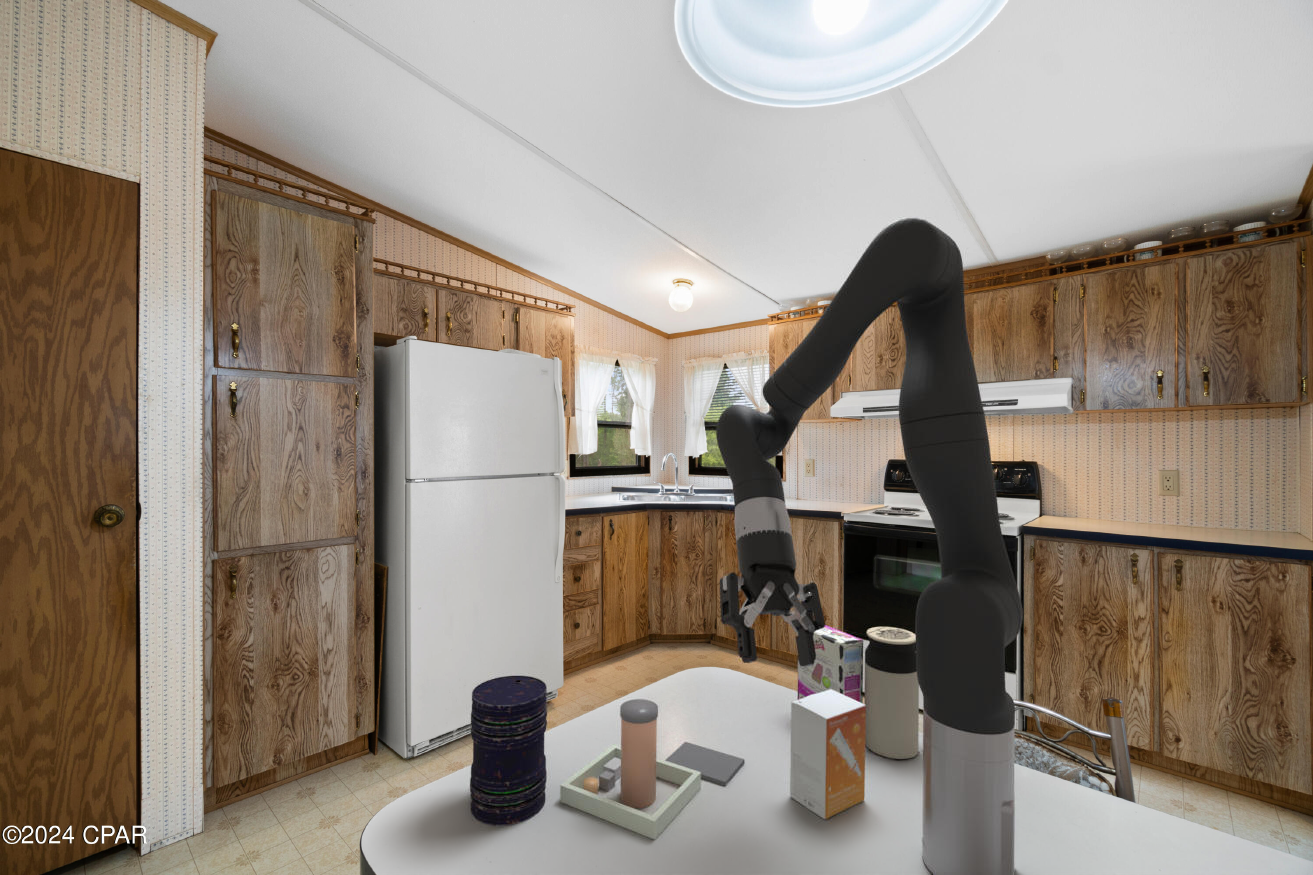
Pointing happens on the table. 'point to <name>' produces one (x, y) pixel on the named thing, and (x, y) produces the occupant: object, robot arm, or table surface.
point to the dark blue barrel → (508, 750)
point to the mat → (707, 762)
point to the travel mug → (891, 693)
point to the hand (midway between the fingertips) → (779, 663)
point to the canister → (638, 752)
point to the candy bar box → (833, 665)
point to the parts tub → (585, 797)
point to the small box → (827, 752)
